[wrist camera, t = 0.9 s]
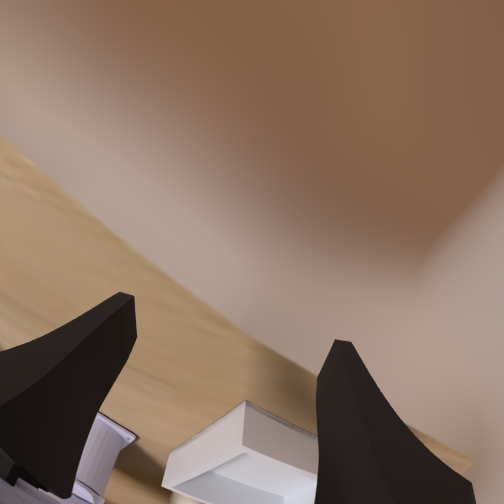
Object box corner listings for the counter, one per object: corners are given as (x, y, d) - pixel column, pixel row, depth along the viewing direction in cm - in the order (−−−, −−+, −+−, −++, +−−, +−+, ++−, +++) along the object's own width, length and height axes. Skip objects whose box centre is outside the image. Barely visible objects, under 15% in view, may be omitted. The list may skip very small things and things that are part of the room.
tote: (365, 456, 29) (372, 490, 24) (284, 496, 33) (284, 525, 28) (245, 400, 25) (241, 445, 21) (170, 451, 30) (161, 486, 25)
